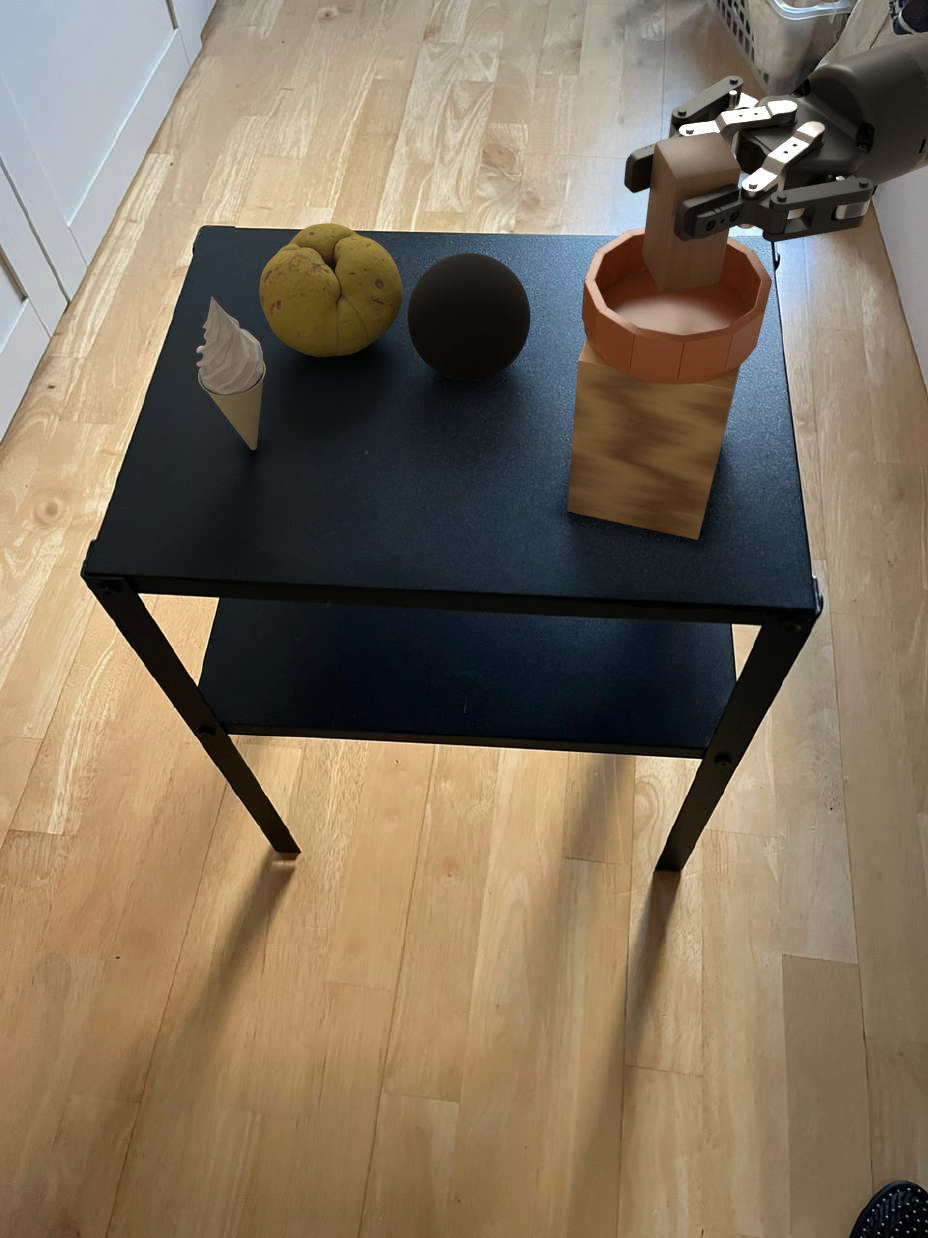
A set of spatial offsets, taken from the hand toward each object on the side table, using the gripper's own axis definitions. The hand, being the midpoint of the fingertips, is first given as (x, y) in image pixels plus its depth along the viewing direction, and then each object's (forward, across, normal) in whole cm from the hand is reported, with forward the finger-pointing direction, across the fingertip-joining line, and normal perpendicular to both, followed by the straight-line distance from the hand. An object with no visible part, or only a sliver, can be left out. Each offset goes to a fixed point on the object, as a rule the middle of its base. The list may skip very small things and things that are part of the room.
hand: (654, 198), depth 60 cm
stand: (-2, 0, +25) cm, 25 cm away
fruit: (+12, -26, +25) cm, 38 cm away
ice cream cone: (+24, -18, +25) cm, 39 cm away
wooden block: (-3, 0, +6) cm, 7 cm away
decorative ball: (+4, -18, +25) cm, 31 cm away
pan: (-5, -2, +10) cm, 12 cm away
